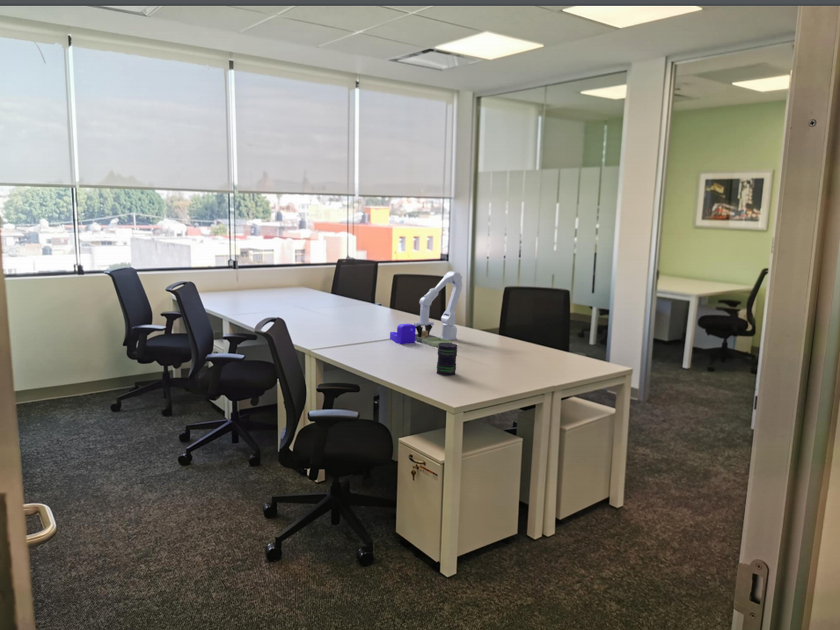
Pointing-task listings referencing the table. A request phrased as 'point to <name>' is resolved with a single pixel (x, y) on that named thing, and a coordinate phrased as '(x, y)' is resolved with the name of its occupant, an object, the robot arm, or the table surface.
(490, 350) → the table surface
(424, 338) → the charcoal bin
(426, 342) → the olive bin
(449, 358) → the storage jar
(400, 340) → the bracket
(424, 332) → the oak block
